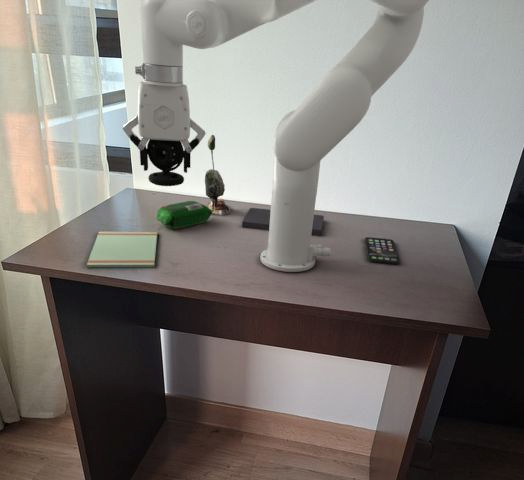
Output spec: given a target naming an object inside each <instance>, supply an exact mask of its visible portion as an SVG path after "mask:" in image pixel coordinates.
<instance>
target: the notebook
mask: <svg viewBox="0 0 524 480" xmlns="http://www.w3.org/2000/svg"><path fill="white" fill-rule="evenodd" d="M270 212H271V209H267V208H257V207H250V208H249V209H248V211H247V213H246V214H245V216H244V218H243V220H242V223H241V227H242V228H246V229H247V228H248V229H257V230H267V231H269V226H270ZM324 219H325V216H324V215H322V214H315V213H314V218H313V226H312V235H311V236H320V237H321V236H322V235H323V234H322V233H323V225H324Z"/></svg>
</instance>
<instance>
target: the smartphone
mask: <svg viewBox="0 0 524 480" xmlns="http://www.w3.org/2000/svg"><path fill="white" fill-rule="evenodd" d="M364 243H365V249H366V254H367V260H368V261H369V262H370V263H381V264H391V265H399V264H400V261H401V260H400V258H399V255H398V251H397V247H396V244H395V241H394V240H393V239H390V238H381V237H380V238H379V237H370V236H369V237H368V236H367V237H365V238H364Z"/></svg>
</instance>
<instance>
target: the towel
mask: <svg viewBox="0 0 524 480" xmlns="http://www.w3.org/2000/svg"><path fill="white" fill-rule="evenodd" d="M157 243H158V232H157V231H98V233H97V236H96V239H95V242H94V244H93V247H92V249H91V251H90V255H89V258H88V260H87V262H86V268H155V266H156V256H157V255H156V253H157V245H158V244H157Z"/></svg>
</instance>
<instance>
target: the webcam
mask: <svg viewBox="0 0 524 480" xmlns="http://www.w3.org/2000/svg"><path fill="white" fill-rule="evenodd" d="M146 149H147V153H148V160H149V161H150V162H151V164H152V165H153V166H154V167H155V168H157V169H159V170H160V171H156V172H152V173H150V174H149V175H148V181H149V182H150V183H151V184H154V185H156V186H160V187H176V186H180V185H182V184H184V181H185V177H184V176H183V175H182V174H180V173H178V172H176V171H175V170H176V169H178V168H179V167H180V166H181V165H182V163H183V162H184V151H185V148H184V146H183V144H182V143H181V141H167V140H152V139H149V140H148V142H147V144H146ZM174 171H175V172H174Z"/></svg>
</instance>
